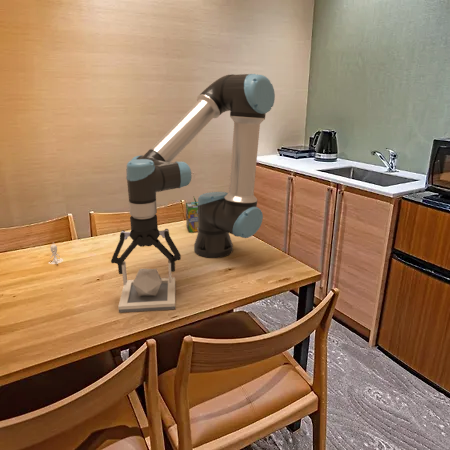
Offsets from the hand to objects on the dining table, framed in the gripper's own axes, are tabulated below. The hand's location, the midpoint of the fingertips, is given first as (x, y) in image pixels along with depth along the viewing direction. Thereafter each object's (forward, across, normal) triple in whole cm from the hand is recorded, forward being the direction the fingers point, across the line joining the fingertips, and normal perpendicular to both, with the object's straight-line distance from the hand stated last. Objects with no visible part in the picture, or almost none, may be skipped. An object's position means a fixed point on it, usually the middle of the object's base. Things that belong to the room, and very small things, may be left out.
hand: (148, 281), depth 118 cm
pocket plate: (+5, 0, 0) cm, 5 cm away
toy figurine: (+5, +35, -28) cm, 45 cm away
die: (+4, 0, 0) cm, 4 cm away
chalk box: (+5, -18, -58) cm, 61 cm away
